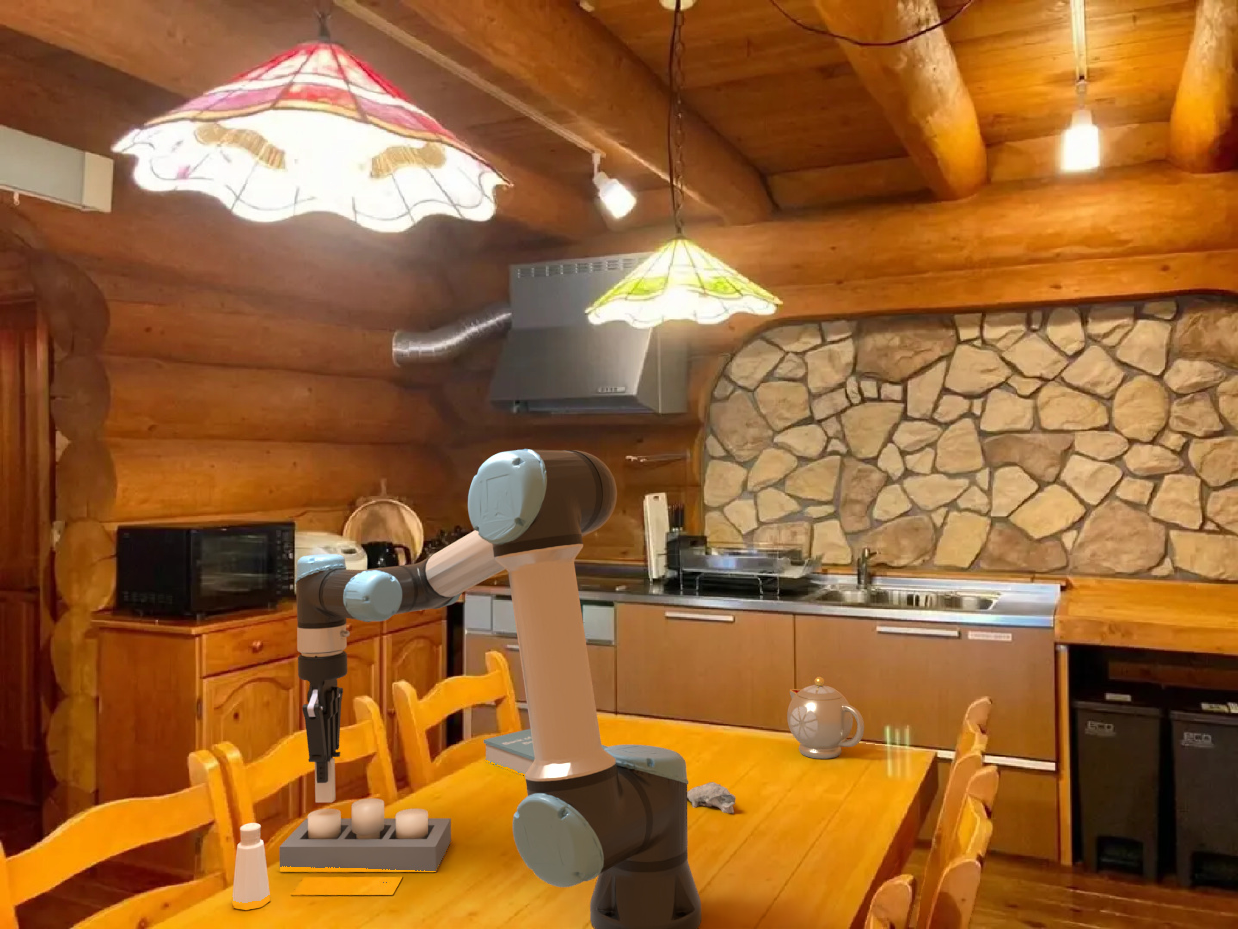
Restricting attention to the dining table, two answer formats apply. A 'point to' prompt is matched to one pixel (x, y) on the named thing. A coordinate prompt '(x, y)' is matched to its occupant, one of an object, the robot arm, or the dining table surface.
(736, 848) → the dining table surface
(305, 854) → the gray compartment tray
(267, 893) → the salt shaker
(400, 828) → the button
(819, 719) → the teapot
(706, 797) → the stone
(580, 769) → the robot arm
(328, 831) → the button
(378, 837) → the button mid
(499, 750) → the book
